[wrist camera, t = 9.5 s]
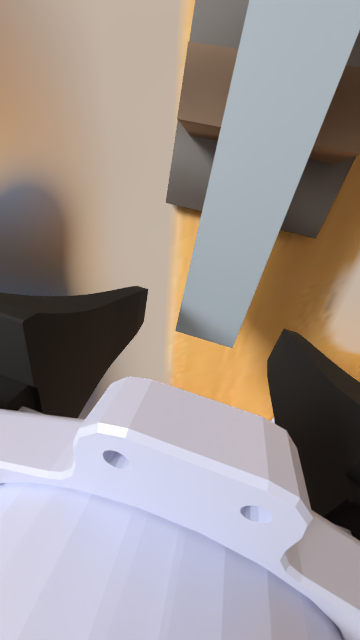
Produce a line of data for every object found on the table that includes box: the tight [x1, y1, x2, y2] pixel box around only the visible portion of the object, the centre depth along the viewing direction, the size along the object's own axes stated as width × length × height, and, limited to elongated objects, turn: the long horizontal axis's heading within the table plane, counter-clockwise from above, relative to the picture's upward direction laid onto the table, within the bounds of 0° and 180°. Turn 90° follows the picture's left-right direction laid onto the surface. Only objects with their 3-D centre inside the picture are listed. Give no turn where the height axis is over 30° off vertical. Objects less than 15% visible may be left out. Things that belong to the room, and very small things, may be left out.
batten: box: [176, 0, 360, 348], centre depth 9 cm, size 24×4×5 cm, turn 168°
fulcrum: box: [166, 0, 360, 238], centre depth 13 cm, size 12×12×4 cm
